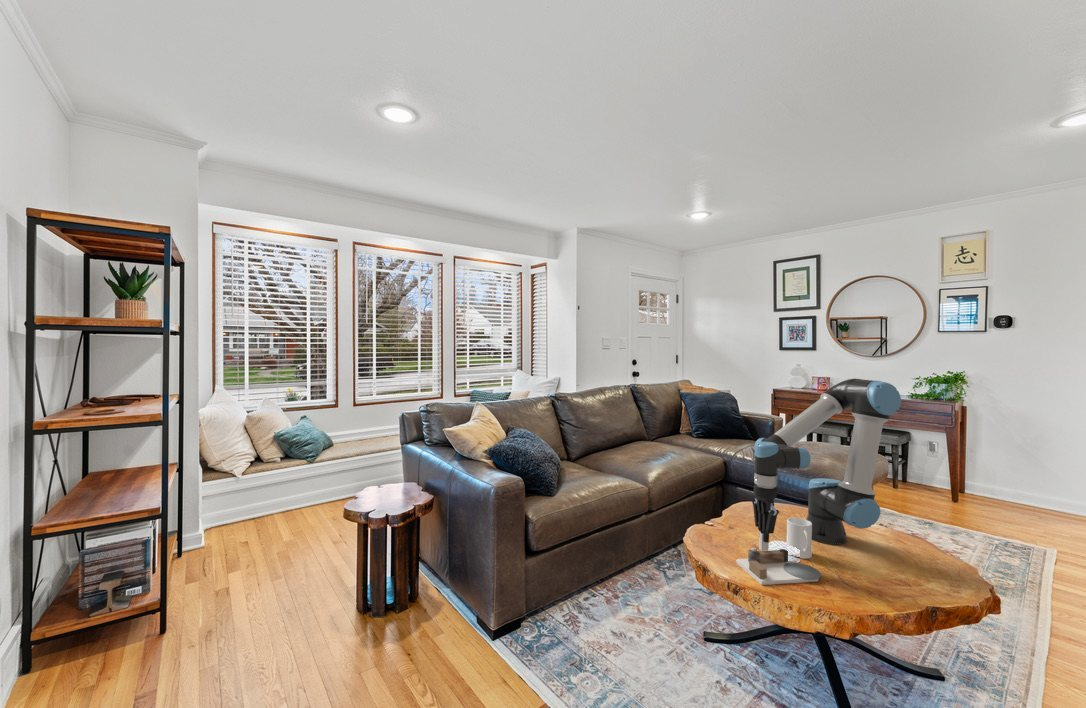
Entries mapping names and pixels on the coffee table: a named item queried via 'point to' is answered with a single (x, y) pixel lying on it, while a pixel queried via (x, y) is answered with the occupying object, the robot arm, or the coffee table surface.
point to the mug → (800, 535)
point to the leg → (768, 556)
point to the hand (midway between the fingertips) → (763, 549)
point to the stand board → (779, 571)
